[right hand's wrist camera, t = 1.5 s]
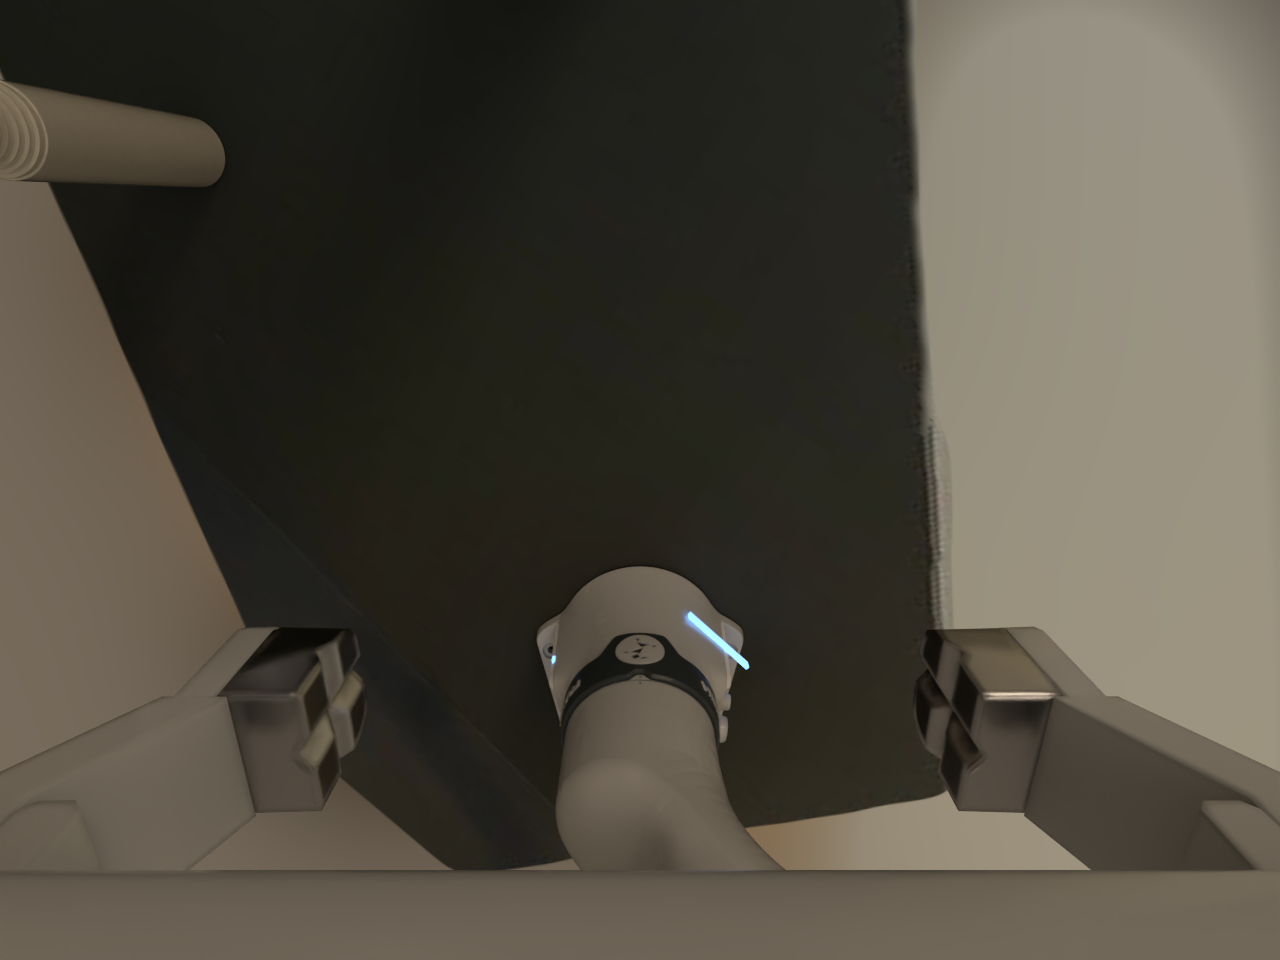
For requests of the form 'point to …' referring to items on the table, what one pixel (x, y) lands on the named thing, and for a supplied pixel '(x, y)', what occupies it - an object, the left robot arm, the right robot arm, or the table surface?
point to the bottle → (101, 141)
